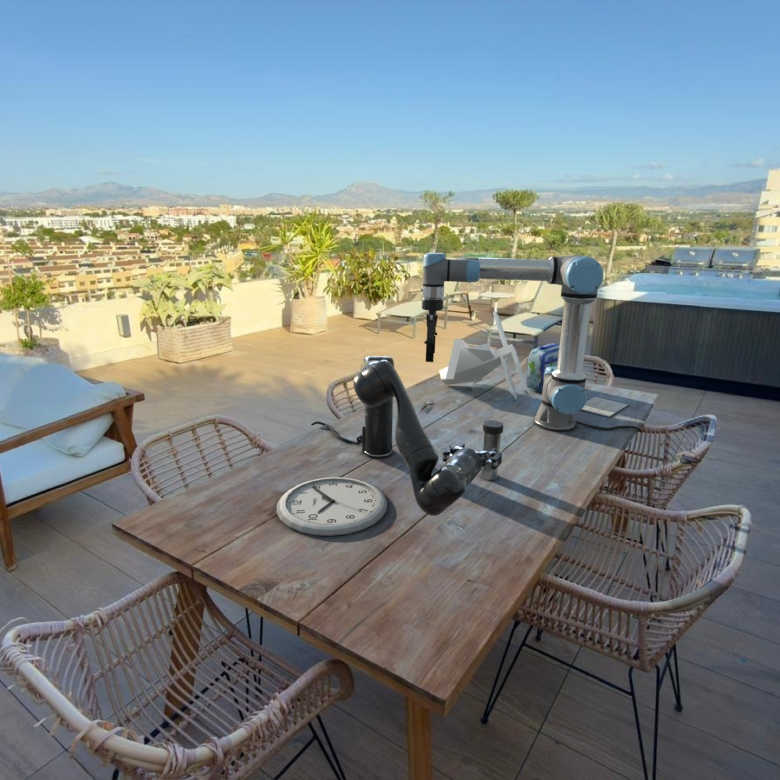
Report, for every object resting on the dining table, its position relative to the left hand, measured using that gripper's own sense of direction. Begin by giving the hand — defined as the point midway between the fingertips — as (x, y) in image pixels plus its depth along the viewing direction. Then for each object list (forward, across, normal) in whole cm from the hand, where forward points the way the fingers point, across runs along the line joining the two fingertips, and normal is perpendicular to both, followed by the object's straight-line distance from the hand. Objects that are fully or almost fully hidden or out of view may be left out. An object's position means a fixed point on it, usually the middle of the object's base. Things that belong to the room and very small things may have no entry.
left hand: (478, 449), depth 139 cm
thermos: (+21, +1, +15) cm, 26 cm away
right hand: (+47, +31, -17) cm, 58 cm away
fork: (+74, +41, +8) cm, 85 cm away
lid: (+19, +1, -2) cm, 19 cm away
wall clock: (-15, +36, +17) cm, 43 cm away
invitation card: (+107, -27, +8) cm, 111 cm away
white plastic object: (+104, +26, +6) cm, 107 cm away
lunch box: (+126, -1, +5) cm, 126 cm away
